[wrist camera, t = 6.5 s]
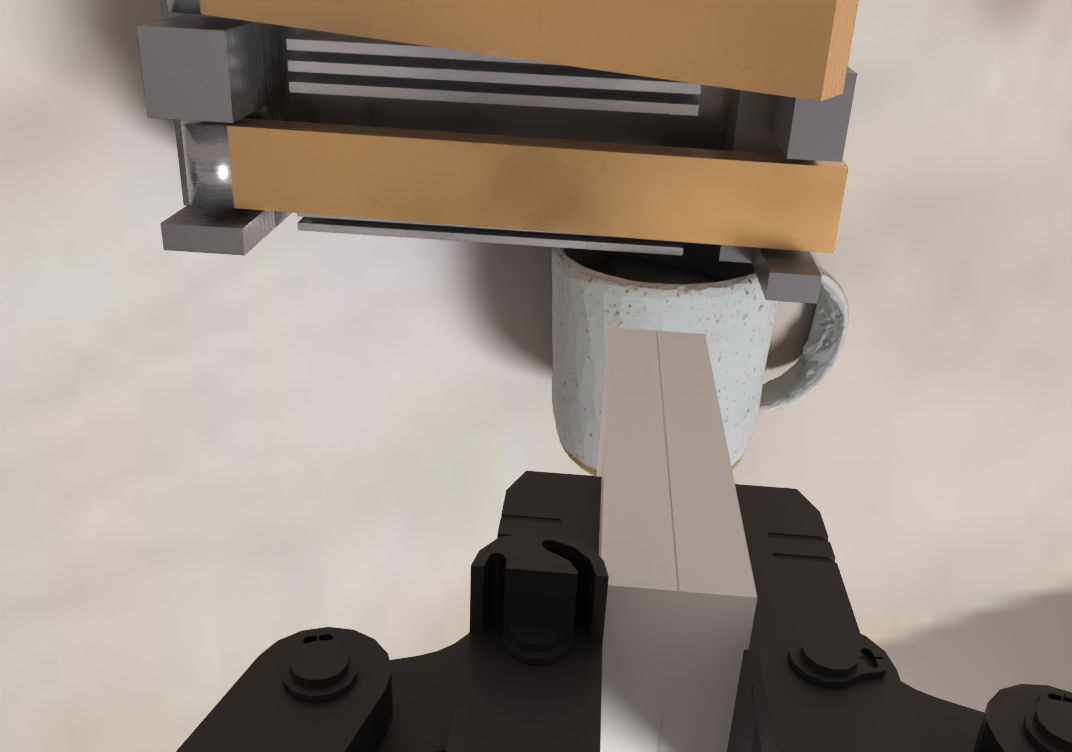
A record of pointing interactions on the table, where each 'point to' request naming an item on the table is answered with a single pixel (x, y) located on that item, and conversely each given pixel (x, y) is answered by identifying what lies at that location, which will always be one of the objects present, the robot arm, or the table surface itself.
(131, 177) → the table surface
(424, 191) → the orange long bar
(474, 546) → the table surface
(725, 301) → the ceramic mug
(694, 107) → the gray cradle frame
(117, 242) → the table surface
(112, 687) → the table surface
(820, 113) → the lug bar
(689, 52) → the strap near
